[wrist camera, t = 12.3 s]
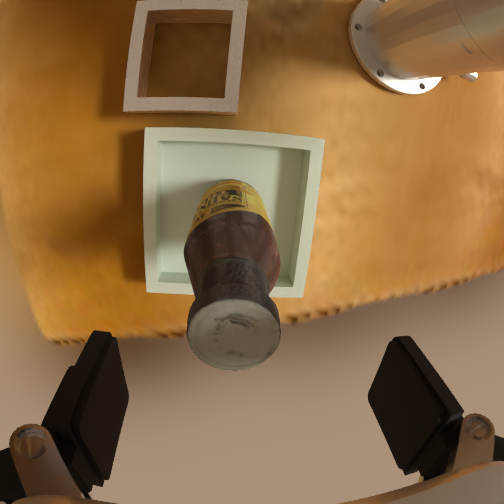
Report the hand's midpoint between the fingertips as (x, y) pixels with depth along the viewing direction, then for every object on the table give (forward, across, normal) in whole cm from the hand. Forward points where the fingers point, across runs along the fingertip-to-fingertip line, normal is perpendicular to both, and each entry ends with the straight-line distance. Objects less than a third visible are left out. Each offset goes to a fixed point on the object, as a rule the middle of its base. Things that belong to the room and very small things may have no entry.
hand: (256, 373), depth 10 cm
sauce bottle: (+23, 0, 0) cm, 23 cm away
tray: (+24, +1, +1) cm, 24 cm away
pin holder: (+24, +6, -14) cm, 28 cm away
